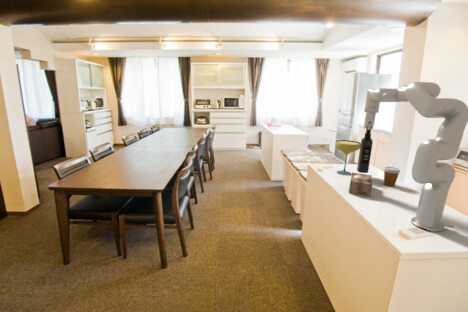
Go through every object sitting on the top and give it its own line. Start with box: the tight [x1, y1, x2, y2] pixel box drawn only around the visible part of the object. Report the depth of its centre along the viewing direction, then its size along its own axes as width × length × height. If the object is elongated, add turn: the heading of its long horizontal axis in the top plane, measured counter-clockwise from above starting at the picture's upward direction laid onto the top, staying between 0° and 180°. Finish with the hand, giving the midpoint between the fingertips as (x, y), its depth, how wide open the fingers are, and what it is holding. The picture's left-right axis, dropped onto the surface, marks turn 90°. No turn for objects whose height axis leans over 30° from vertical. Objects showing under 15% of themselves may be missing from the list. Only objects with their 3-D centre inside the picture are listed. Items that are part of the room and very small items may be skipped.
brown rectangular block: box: [348, 172, 373, 198], centre depth 163 cm, size 12×20×8 cm, turn 152°
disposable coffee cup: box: [383, 166, 401, 188], centre depth 171 cm, size 10×10×12 cm
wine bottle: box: [356, 127, 374, 174], centre depth 157 cm, size 6×6×30 cm
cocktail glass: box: [334, 139, 361, 176], centre depth 194 cm, size 18×18×25 cm
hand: (367, 139), depth 155 cm, fingers closed on wine bottle, 5 cm apart
